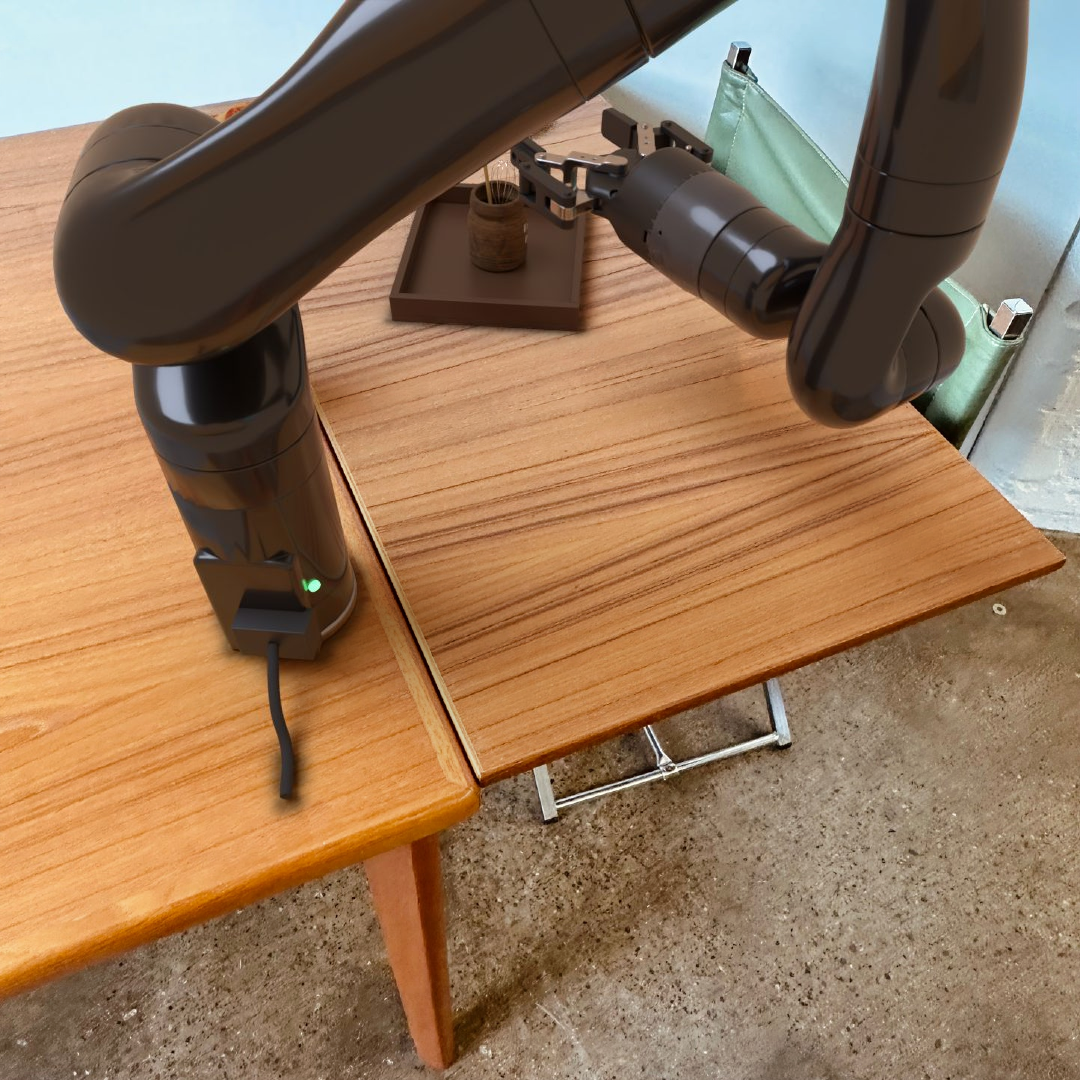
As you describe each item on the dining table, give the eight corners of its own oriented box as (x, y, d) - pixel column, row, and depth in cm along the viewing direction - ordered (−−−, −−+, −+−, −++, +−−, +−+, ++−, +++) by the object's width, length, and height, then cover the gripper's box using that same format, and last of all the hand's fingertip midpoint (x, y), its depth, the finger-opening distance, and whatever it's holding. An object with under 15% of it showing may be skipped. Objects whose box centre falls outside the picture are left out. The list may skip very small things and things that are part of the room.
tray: (577, 331, 86) (578, 307, 84) (391, 320, 86) (388, 297, 84) (586, 211, 100) (587, 189, 98) (427, 203, 100) (425, 180, 98)
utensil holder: (485, 280, 90) (481, 162, 81) (458, 249, 93) (450, 133, 84) (538, 264, 92) (539, 148, 83) (509, 234, 95) (507, 119, 86)
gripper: (782, 148, 63) (637, 63, 71) (617, 203, 57) (482, 104, 66) (759, 246, 68) (628, 156, 77) (607, 305, 63) (484, 201, 71)
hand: (560, 132), depth 71 cm, fingers open, 8 cm apart
